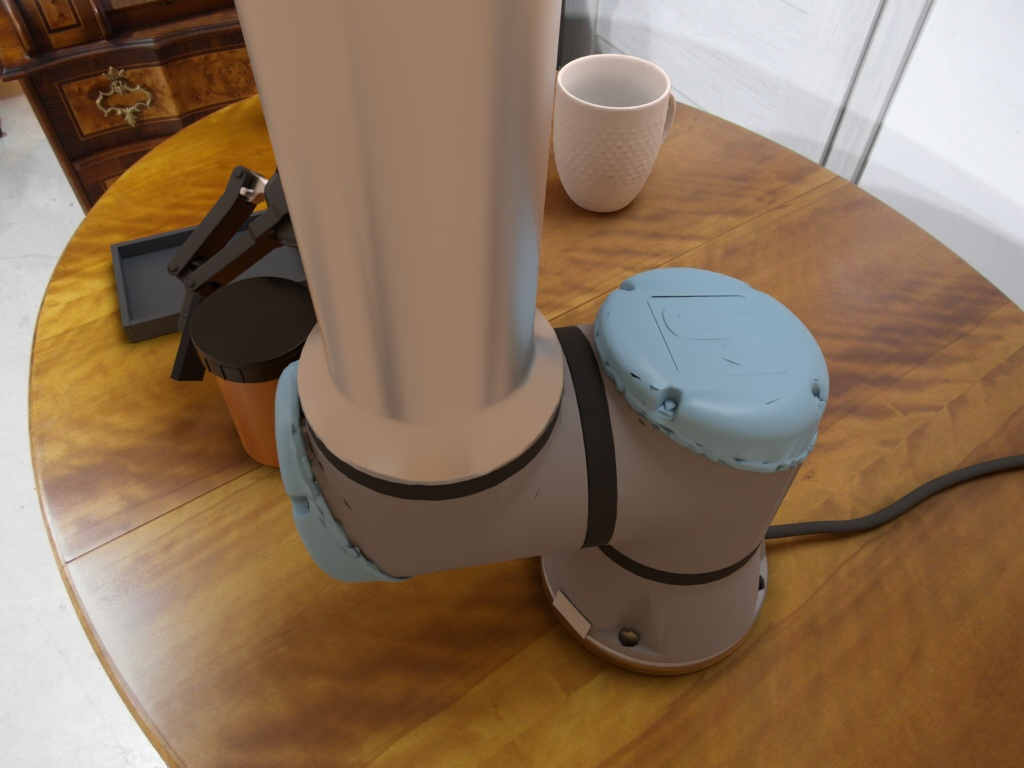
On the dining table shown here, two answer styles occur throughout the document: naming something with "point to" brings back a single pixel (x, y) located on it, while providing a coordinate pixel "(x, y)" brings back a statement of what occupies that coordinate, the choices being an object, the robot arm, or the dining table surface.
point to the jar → (254, 417)
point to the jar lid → (253, 328)
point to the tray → (158, 295)
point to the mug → (609, 127)
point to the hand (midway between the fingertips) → (260, 409)
